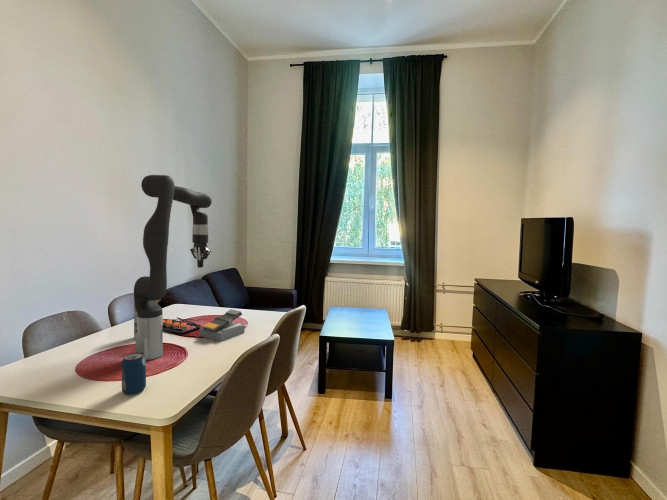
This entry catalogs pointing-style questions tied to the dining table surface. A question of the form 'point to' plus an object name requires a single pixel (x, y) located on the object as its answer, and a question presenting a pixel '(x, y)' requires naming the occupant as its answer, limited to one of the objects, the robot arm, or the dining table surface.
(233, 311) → the breaker rocker
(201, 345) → the dining table surface
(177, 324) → the sushi plate
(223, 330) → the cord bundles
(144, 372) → the soda can
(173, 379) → the dining table surface
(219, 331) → the switch box
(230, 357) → the dining table surface
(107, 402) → the dining table surface
